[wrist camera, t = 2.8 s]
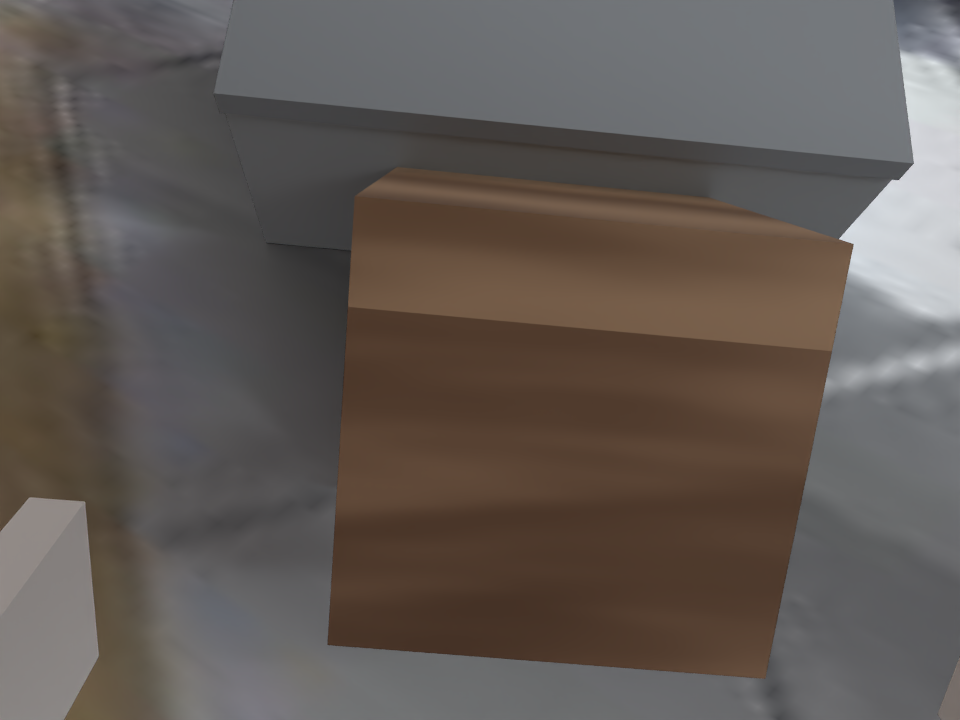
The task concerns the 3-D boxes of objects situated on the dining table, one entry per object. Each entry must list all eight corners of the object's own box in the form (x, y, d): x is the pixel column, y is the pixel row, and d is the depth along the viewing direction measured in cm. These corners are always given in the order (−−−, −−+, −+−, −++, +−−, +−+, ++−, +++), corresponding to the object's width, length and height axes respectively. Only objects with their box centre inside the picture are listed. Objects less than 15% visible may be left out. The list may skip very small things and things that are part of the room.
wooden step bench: (667, 705, 25) (905, 639, 13) (349, 681, 25) (295, 591, 13) (658, 295, 31) (819, -15, 19) (398, 270, 31) (393, -61, 19)
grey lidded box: (793, 294, 31) (913, 163, 24) (262, 244, 30) (213, 93, 23) (778, 56, 35) (877, -122, 27) (305, 7, 34) (274, -190, 27)
